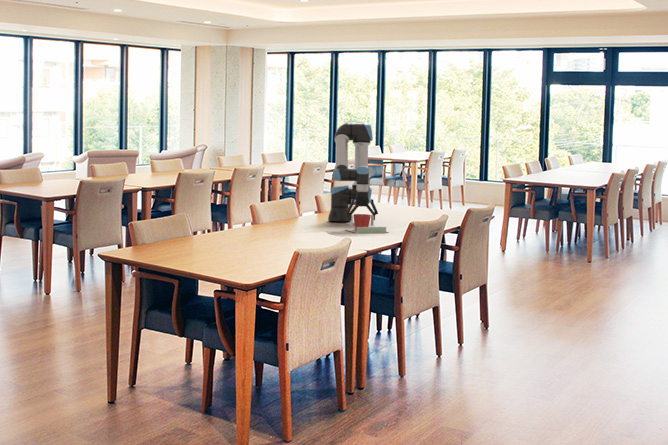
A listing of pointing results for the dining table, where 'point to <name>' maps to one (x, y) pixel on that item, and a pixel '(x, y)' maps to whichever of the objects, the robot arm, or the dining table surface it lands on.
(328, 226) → the dining table surface
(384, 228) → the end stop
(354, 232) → the guide strips
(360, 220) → the flower pot
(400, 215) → the dining table surface
